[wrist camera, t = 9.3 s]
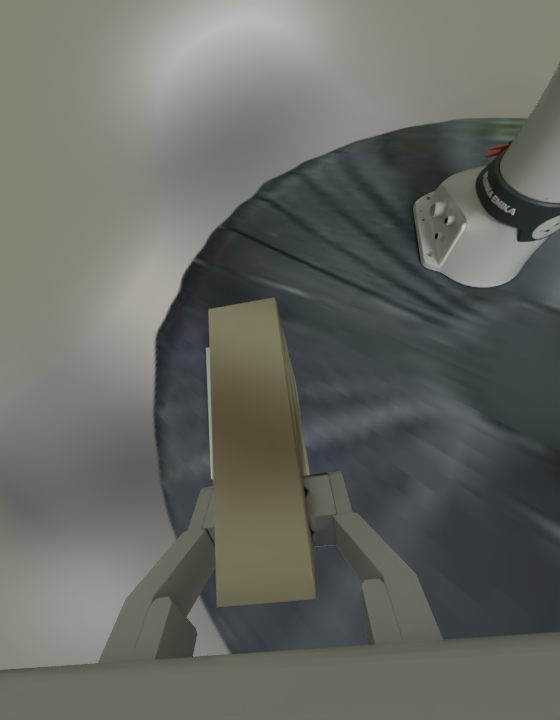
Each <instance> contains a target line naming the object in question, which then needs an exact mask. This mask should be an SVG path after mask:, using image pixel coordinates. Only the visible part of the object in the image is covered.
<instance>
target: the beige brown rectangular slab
mask: <svg viewBox="0 0 560 720" xmlns="http://www.w3.org/2000/svg"><path fill="white" fill-rule="evenodd" d="M208 311H209V347H210V382H211V417H212V452H213V488H214V523H215V558H216V593H217V607H224V606H236V605H248V604H260V603H272V602H284V601H296V600H308V599H316V589H315V561H314V546H313V542H312V537H311V529H310V527H309V522H308V517H307V508H306V499H305V498H306V493H305V488H304V479H303V476H305V475H310V474H309V467H308V461H307V454H306V447H305V441H304V434H303V427H302V421H301V414H300V408H299V401H298V394H297V388H296V381H295V377H294V373H293V369H292V365H291V361H290V357H289V353H288V349H287V345H286V341H285V337H284V333H283V329H282V325H281V321H280V317H279V313H278V309H277V305H276V301H275V298H269V299H264V300H258V301H252V302H247V303H241V304H236V305H230V306H224V307H219V308H213V309H208Z"/></svg>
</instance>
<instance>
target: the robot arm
mask: <svg viewBox="0 0 560 720" xmlns="http://www.w3.org/2000/svg"><path fill="white" fill-rule="evenodd" d="M491 150H496V151H493V152H491V153H489V154H487V155H485V158H487V157H492V156H496V155H498V156H497V157H496V158H495V159H494V160H493V161H492V162H491V163H489V164H488V165H485V166H481V167H477V168H472V169H468V170H465V171H462V172H459V173H456V174H454V175H452V176H450V177H448V178H447V179H446V180H444V181H443V182H442V183H441V184H440V185H439V187H438V188H437V190H436V191H434V192H431V193H428V194H426V195H424V196H423V197H421V198H420V199H418V200H417V201H416V202H415V204H414V206H413V212H414V219H415V226H416V232H417V239H418V246H419V252H420V259H421V264H422V265H423V266H424V267H425V268H428V269H431V270H435V271H439V272H441V273H443V274H444V275H446V276H448V277H449V278H451V279H452V280H454V281H456V282H459V283H461V284H464V285H468V286H473V287H493V286H498V285H501V284H504V283H506V282H508V281H510V280H511V279H513V278H514V277H515V276H516V275H517V274H518V273H519V271H520V270H521V268H522V267H523V265H524V264H525V262H526V261H527V260H528V259H529V257H530V256H531V255H532V254H533V253H534V251H535V250H536V249H537V248H538V247H539V246H540V245H541V244H542V243H543V242H544V241H545V240H546V239H547V238H548V237H549V236H550V235H552V234H553V233H555V232H556V231H557V230H559V229H560V62H559V65H558V67H557V69H556V71H555V73H554V75H553V77H552V79H551V81H550V82H549V84H548V86H547V88H546V89H545V91H544V93H543V95H542V96H541V98H540V100H539V101H538V103H537V105H536V106H535V108H534V109H533V111H532V113H531V114H530V116H529V118H528V119H527V121H526V122H525V124H524V125H523V127H522V129H521V130H520V132H519V133H518V135H517V136H516V138H515V139H514V140H513V141H510V142H509V143H508V144H506V145H501V146H497V147H493V148H490V149H489V151H491ZM428 255H429V256H428ZM303 479H304V488H305V493H306V498H305V499H306V508H307V517H308V522H309V527H310V529H311V537H312V542H313V546H314V547H315V546H330V545H337V548H338V549H339V550H340V552H341V553H342V555H343V556H344V558H345V559H346V560H347V562H348V563H349V565H350V566H351V568H352V569H353V570H354V572H355V573H356V575H357V576H358V578H359V579H360V580H361V582H362V583H363V584H362V604H363V621H364V626H365V631H366V635H367V640H368V645H360V646H345V647H331V648H316V649H301V650H287V651H272V652H257V653H243V654H228V655H213V656H200V657H193V652H194V647H195V642H196V637H197V631H196V629H195V627H194V626H193V625H192V624H191V622H190V621H189V620H188V619H187V618H186V617H187V615H188V613H189V612H190V610H191V608H192V606H193V605H194V603H195V601H196V600H197V598H198V596H199V595H200V593H201V591H202V589H203V588H204V586H205V584H206V583H207V581H208V579H209V578H210V576H211V574H212V572H213V571H214V569H215V567H216V558H215V523H214V488H213V487H205V488H203V489H202V490H201V492H200V494H199V497H198V500H197V503H196V507H195V510H194V513H193V516H192V519H191V522H190V525H189V528H188V531H184V532H183V533H182V534H181V536H180V537H179V538H178V539H177V540H176V541H175V542H174V544H173V545H172V546H171V547H170V549H169V550H168V551H167V552H166V553H165V554H164V555H163V557H162V558H161V559H160V560H159V561H158V562H157V564H156V565H155V566H154V567H153V568H152V569H151V570H150V572H149V573H148V574H147V575H146V576H145V577H144V579H143V580H142V581H141V582H140V583H139V584H138V586H137V587H136V588H135V589H134V590H133V592H132V593H131V594H130V595H129V596H128V597H127V598H126V600H125V602H124V604H123V607H122V609H121V612H120V614H119V616H118V618H117V621H116V623H115V625H114V627H113V630H112V632H111V634H110V637H109V639H108V641H107V644H106V646H105V648H104V650H103V653H102V655H101V657H100V660H99V662H98V663H96V664H81V665H66V666H51V667H37V668H22V669H8V670H0V720H560V632H551V633H536V634H522V635H507V636H492V637H478V638H463V639H448V640H443V638H442V636H441V634H440V631H439V629H438V626H437V624H436V621H435V619H434V617H433V614H432V612H431V609H430V607H429V605H428V602H427V600H426V597H425V595H424V592H423V590H422V588H421V585H420V583H419V580H418V578H417V576H416V574H415V573H414V572H413V571H412V570H411V569H410V567H409V566H408V565H407V564H406V563H405V562H404V561H403V560H402V559H401V558H400V557H399V556H398V555H397V554H396V553H395V552H394V551H393V550H392V549H391V548H390V547H389V546H388V545H387V544H386V543H385V542H384V540H383V539H382V538H381V537H380V536H379V535H378V534H377V533H376V532H375V531H374V530H373V529H372V528H371V527H370V526H369V525H368V524H367V523H366V522H365V521H364V520H363V519H362V518H361V517H360V516H359V514H358V513H353V512H352V509H351V505H350V501H349V498H348V494H347V490H346V487H345V483H344V479H343V476H342V473H341V471H337V472H329V473H327V472H326V473H319V474H312V475H305V476H303Z"/></svg>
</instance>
